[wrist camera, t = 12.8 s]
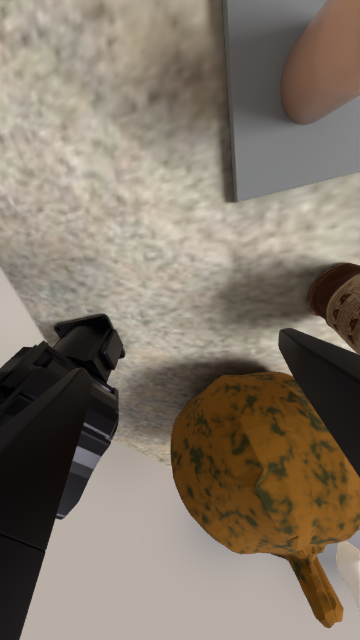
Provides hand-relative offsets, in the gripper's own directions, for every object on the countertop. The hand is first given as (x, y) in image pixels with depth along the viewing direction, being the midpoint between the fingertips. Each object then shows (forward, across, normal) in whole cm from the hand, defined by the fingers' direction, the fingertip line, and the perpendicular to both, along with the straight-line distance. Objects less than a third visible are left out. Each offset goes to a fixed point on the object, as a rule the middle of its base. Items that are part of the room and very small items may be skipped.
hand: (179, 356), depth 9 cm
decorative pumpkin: (+13, -5, +22) cm, 26 cm away
